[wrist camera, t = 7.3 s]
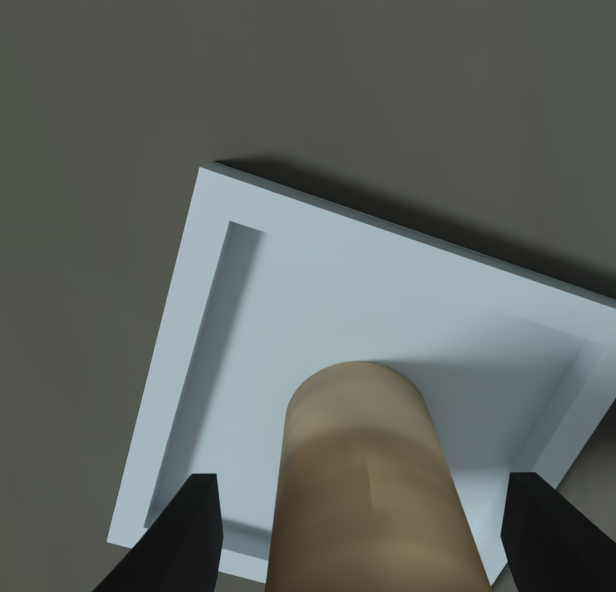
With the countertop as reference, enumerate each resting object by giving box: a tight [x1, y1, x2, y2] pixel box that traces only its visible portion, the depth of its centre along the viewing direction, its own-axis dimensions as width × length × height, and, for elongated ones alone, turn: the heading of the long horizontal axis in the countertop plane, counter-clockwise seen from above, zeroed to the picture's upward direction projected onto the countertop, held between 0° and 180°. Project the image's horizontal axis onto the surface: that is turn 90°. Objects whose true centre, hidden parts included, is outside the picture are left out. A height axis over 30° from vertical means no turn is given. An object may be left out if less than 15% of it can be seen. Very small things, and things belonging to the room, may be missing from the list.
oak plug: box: [265, 361, 493, 592], centre depth 12 cm, size 4×4×6 cm
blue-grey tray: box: [107, 161, 616, 586], centre depth 15 cm, size 12×12×2 cm
